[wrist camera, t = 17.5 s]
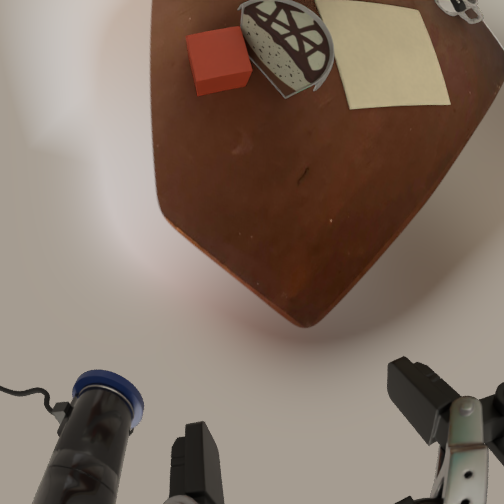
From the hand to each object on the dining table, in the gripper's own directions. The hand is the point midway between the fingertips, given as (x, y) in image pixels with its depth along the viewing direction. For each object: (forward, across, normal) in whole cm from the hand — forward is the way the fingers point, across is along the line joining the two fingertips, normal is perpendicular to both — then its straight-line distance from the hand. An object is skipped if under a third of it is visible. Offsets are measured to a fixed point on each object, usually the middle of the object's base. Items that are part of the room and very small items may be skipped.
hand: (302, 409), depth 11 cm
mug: (+28, -50, -36) cm, 68 cm away
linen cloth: (+28, -29, -24) cm, 47 cm away
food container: (+28, -11, -23) cm, 38 cm away
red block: (+28, -3, -23) cm, 36 cm away
